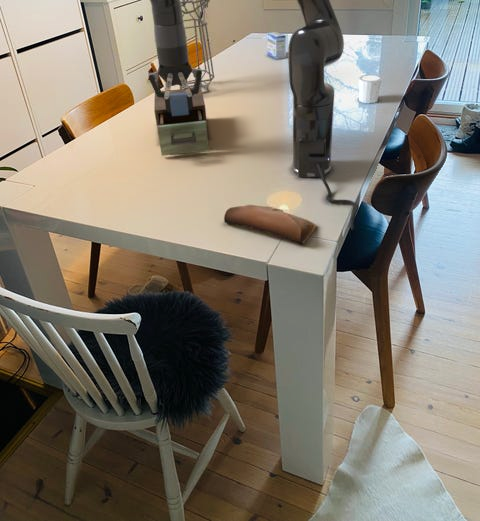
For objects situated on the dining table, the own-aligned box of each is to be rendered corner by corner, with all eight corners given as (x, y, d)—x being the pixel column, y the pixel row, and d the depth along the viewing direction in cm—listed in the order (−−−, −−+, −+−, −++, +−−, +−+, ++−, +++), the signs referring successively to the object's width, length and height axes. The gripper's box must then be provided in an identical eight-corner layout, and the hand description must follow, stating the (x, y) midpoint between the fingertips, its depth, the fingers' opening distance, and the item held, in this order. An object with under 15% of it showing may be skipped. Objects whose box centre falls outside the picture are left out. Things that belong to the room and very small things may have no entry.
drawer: (210, 157, 131) (207, 128, 126) (161, 162, 130) (157, 133, 125) (204, 129, 146) (202, 102, 141) (161, 134, 145) (157, 107, 141)
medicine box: (267, 55, 208) (266, 33, 203) (276, 53, 209) (276, 31, 204) (276, 59, 202) (275, 36, 197) (286, 57, 203) (285, 35, 198)
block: (188, 114, 132) (186, 98, 129) (172, 116, 131) (169, 99, 129) (188, 108, 135) (186, 92, 132) (171, 110, 135) (169, 94, 132)
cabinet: (208, 139, 143) (205, 105, 137) (159, 144, 142) (154, 110, 136) (204, 118, 156) (201, 87, 150) (159, 123, 155) (154, 91, 149)
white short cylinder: (354, 102, 159) (356, 80, 155) (360, 95, 164) (362, 73, 160) (376, 105, 156) (378, 82, 152) (381, 97, 161) (384, 75, 157)
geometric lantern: (179, 101, 170) (164, -16, 149) (167, 88, 181) (151, -22, 160) (223, 92, 174) (214, -23, 153) (208, 80, 186) (197, -28, 165)
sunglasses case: (319, 223, 104) (312, 207, 98) (306, 252, 102) (299, 238, 96) (243, 204, 112) (233, 188, 106) (230, 232, 110) (220, 217, 104)
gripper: (141, 49, 119) (152, 119, 129) (201, 43, 120) (208, 113, 130) (142, 41, 125) (153, 108, 135) (199, 36, 126) (206, 103, 136)
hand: (180, 110), depth 133 cm, fingers closed on block, 4 cm apart
